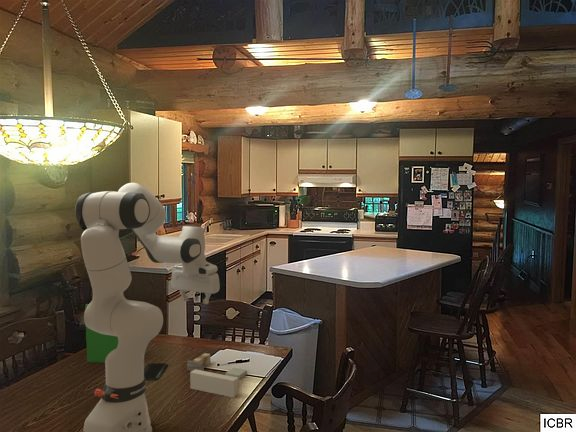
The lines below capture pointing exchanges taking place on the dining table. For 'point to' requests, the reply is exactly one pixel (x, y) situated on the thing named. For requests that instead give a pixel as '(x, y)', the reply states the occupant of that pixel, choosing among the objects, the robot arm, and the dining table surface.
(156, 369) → the phone
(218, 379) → the white rectangular block
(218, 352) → the dining table surface
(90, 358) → the hardback book
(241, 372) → the tile
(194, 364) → the pusher
